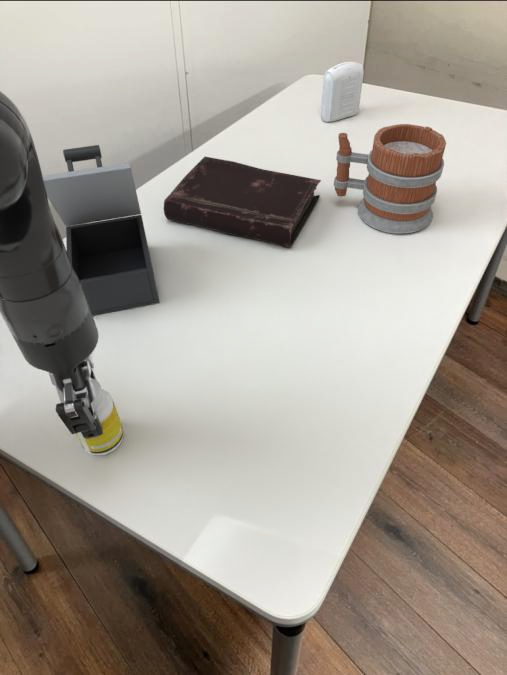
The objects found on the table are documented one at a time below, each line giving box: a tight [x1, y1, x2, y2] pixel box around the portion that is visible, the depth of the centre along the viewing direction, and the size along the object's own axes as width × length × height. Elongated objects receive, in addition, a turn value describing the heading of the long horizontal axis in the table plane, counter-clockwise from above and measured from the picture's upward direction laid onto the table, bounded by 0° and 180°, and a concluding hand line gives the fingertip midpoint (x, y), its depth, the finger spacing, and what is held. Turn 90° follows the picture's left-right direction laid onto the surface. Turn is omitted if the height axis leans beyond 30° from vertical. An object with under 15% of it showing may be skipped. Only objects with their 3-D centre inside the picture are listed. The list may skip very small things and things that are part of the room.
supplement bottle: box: [75, 378, 125, 456], centre depth 61 cm, size 5×5×10 cm
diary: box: [163, 156, 322, 249], centre depth 98 cm, size 19×25×5 cm
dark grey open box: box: [65, 214, 160, 317], centre depth 84 cm, size 16×13×7 cm
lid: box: [42, 144, 142, 227], centre depth 78 cm, size 16×13×5 cm
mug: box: [333, 123, 447, 235], centre depth 93 cm, size 14×19×15 cm
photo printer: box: [320, 61, 365, 123], centre depth 123 cm, size 10×4×12 cm, turn 122°
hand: (92, 413), depth 61 cm, fingers closed on supplement bottle, 5 cm apart
